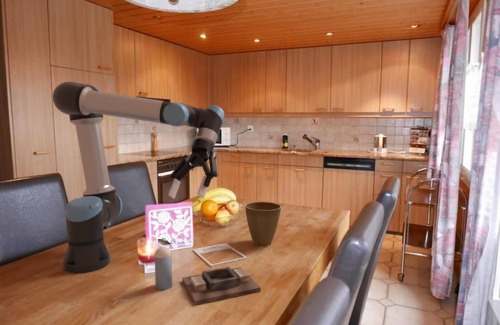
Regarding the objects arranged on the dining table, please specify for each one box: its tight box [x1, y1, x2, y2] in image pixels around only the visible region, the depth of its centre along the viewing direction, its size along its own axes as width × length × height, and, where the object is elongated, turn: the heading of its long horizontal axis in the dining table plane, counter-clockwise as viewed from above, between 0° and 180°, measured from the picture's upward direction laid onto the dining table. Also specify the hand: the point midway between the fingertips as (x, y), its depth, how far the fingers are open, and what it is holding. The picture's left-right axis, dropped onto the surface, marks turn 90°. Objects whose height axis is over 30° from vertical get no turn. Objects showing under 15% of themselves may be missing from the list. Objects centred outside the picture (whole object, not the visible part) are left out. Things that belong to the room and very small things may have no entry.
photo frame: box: [192, 242, 248, 268], centre depth 136 cm, size 15×1×18 cm
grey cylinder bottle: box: [154, 246, 173, 291], centre depth 110 cm, size 5×5×12 cm
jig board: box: [181, 266, 262, 306], centre depth 110 cm, size 20×16×4 cm
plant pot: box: [244, 201, 282, 247], centre depth 148 cm, size 15×15×16 cm
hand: (185, 196), depth 118 cm, fingers open, 13 cm apart
